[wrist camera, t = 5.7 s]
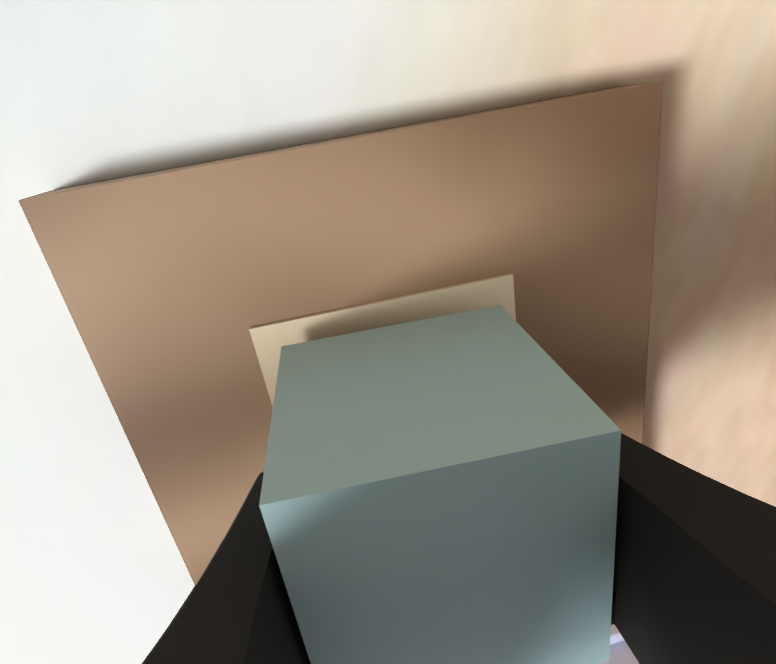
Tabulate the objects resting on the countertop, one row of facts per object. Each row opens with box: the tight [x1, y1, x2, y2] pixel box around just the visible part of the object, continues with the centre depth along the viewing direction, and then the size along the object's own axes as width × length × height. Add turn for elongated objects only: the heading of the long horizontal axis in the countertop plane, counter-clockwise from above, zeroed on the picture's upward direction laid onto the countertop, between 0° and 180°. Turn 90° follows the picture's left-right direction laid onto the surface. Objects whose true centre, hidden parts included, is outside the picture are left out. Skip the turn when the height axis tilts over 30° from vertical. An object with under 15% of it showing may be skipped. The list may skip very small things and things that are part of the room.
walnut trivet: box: [19, 82, 662, 585], centre depth 12 cm, size 12×12×1 cm
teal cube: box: [259, 305, 621, 664], centre depth 9 cm, size 4×4×4 cm
